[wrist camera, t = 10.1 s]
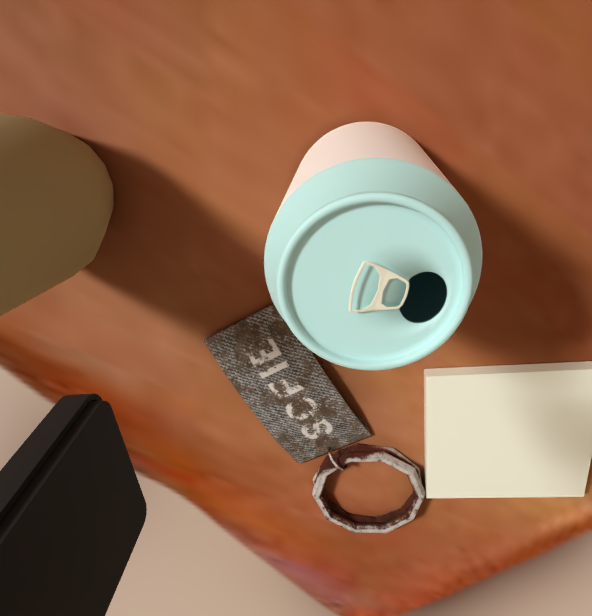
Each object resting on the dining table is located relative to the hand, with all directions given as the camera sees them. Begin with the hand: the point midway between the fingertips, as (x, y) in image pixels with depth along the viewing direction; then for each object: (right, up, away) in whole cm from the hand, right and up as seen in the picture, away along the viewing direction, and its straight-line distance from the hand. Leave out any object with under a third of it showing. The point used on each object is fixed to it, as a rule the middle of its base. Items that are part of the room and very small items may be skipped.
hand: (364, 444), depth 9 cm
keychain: (+1, -5, +24) cm, 25 cm away
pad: (+12, -5, +22) cm, 26 cm away
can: (+2, +8, +16) cm, 19 cm away
